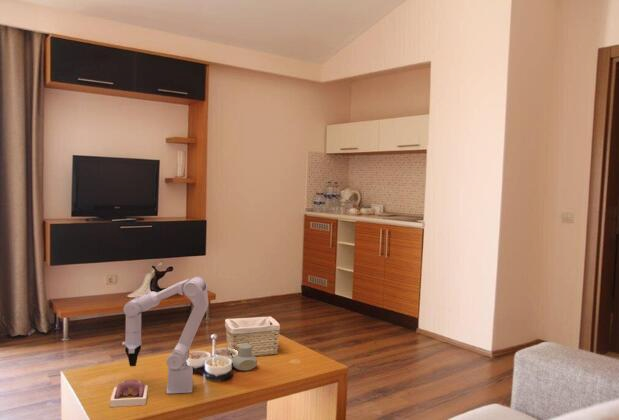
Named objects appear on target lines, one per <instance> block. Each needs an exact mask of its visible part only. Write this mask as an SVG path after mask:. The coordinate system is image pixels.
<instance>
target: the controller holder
mask: <svg viewBox="0 0 619 420" xmlns="http://www.w3.org/2000/svg"><path fill="white" fill-rule="evenodd" d="M117 387H118V386H114V387H113V391H112V393H111V396H110V401H109V407H110V408H118V407H133V406H135V407H136V406H146V404H147V400H148V399H147V397H148V392H149V385H148V384H144V393H143V397H141V398H139V397H129V398H119V399H116V390H117Z"/></svg>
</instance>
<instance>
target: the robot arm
mask: <svg viewBox="0 0 619 420" xmlns="http://www.w3.org/2000/svg"><path fill="white" fill-rule="evenodd" d="M177 294H178V295H181V296H183V295H185V296H186V297H187V299H188V300H190V301H191V303H192V305H193V308H192V309H191V312H190V313H189V314H190V315H189V317H188V319H187V322H186V324H185V326H184V328H183V330H182V333H181V335H180V337H179V340H178V342H177V344H176V345H175V347H174V349H173V350H172V353H171V354H169V356H167V359H166V365H167V367H168V368H167V369H168V371H167V373H168V374H167V384H166V395H171V394H173V395H174V394H189V393H192V392H193V386H194V380H193V376H194V375H193V374H194V373H193V370H194V369H193V366H192V365H188V360H189V357H190V349H191V347H192V346H191V345H192V342H193V341H194V338H195V337H196V333H197V331H198V329H199V327H200V325H201V322H202V320H203V318H204V316H205V314H206V312H207V310H208V307H209V295H208V285H207V283H206V281H205V279H204V278H203V277H200V276H194V277H192V278H187V279H184V280H182V281H178V282H177V283H176V282H175V284H172V285H171V286H169V287H166V288H165V289H162V290H161V291H158V292H157V291H150V290H148V291H146V292H145V294H142V295H141V296H135V297H134V299H131V300H130V301H128V302H127V303H125V305H124V306H123V313H124V315H125V341H122V343H121V345H122V346H125V349H124V351H125V354H126V355H127V359H128V365H129V367H136V366H137V362H138V356H139V354H140V351H141V349H142V343H143V342H142V312H146V311H148V310H150V309H152V308H154V307H156V306H159V305H160V302H161V300H164V299H167V298H170V297H171V296H174V295H177Z"/></svg>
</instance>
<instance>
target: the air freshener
mask: <svg viewBox="0 0 619 420" xmlns="http://www.w3.org/2000/svg"><path fill="white" fill-rule="evenodd" d="M232 359H233V360H232ZM232 359H231V362H232V361H233V365H232V367H234V369H236V370H238V371H243V372H247V371H250V370H253V369H254V368H255V367H256V366H257V364H258V359H257V356H254V355H252V346H251V345H250V344H241V345H239V346H238V355H236V356H235V357H234V358H233V357H232Z"/></svg>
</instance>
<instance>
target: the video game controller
mask: <svg viewBox="0 0 619 420" xmlns="http://www.w3.org/2000/svg"><path fill="white" fill-rule="evenodd" d="M116 387H117V390H116V399H120V398H121V394H122V395H123V396H125V397H128V396H129V395H130V389H132V390H131V395H132V396H133V397H136V396H138V398H141V397H143V395H144V389H145V384H144V382H143V381H141V380H137V379H127V380H123V381H121V382H119V383H118V384H117V386H116Z"/></svg>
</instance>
